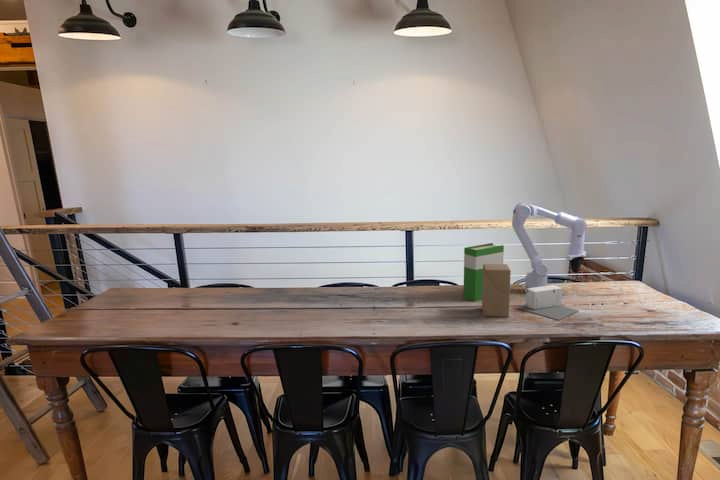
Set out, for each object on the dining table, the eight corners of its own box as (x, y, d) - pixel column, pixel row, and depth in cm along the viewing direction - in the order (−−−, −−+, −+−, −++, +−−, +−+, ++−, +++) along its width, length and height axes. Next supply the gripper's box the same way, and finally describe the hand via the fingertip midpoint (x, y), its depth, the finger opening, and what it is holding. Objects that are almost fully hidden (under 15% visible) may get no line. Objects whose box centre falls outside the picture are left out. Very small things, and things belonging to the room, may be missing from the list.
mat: (518, 309, 187) (518, 308, 186) (539, 300, 196) (539, 300, 196) (558, 320, 172) (558, 319, 172) (578, 311, 182) (579, 310, 182)
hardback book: (490, 290, 212) (491, 243, 208) (502, 294, 206) (503, 245, 202) (463, 297, 204) (464, 247, 199) (474, 301, 197) (476, 250, 193)
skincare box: (562, 305, 188) (534, 311, 183) (551, 301, 194) (524, 306, 189) (563, 286, 186) (535, 292, 182) (552, 283, 192) (525, 288, 187)
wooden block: (509, 317, 177) (510, 270, 174) (483, 316, 179) (485, 269, 176) (505, 308, 187) (507, 264, 183) (481, 308, 189) (482, 263, 185)
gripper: (577, 247, 192) (575, 277, 195) (593, 243, 201) (591, 271, 203) (562, 245, 198) (560, 274, 200) (578, 241, 206) (576, 268, 209)
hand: (575, 272), depth 202 cm, fingers closed
